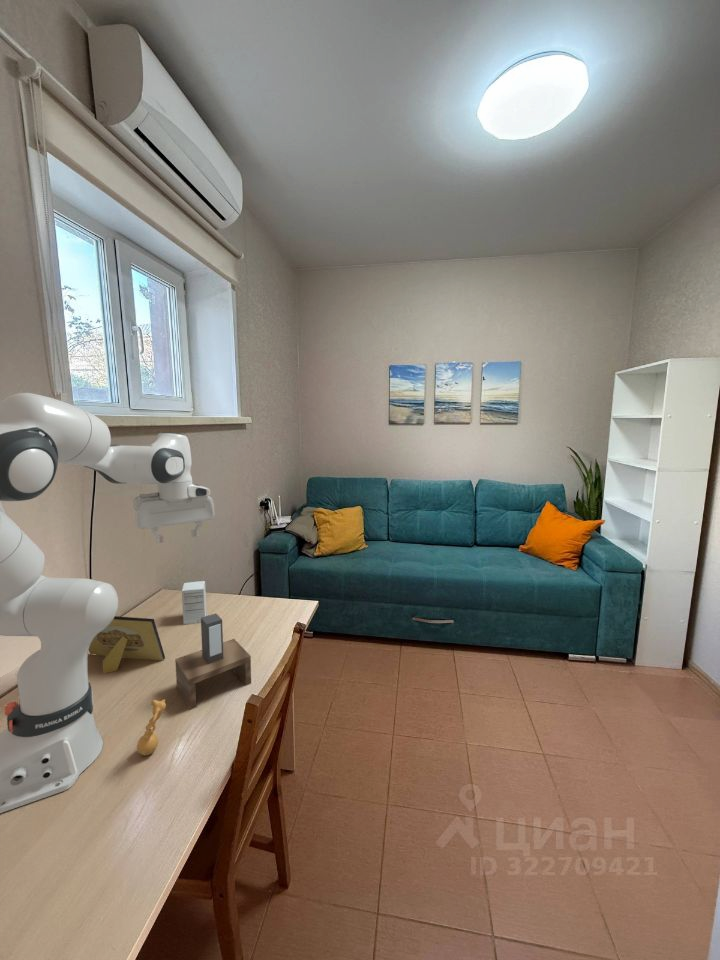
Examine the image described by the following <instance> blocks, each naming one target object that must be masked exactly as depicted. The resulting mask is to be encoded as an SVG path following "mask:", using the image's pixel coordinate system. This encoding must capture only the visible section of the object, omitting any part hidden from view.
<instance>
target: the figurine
mask: <svg viewBox="0 0 720 960" xmlns="http://www.w3.org/2000/svg"><path fill="white" fill-rule="evenodd" d="M150 705H151V706H152V710H151V712H152V717H151V718H150V719H149V720H148V724H147V725H146V726H145V730H146V731H144V732H143V733H144V734H143V735H142V736H141V737H139V739H138V741H137V744H136V749H137V752H138V754H140V755H141V756H149V755H150V754H153V753H154V752H155V750H156V749H157V747H158V743H159V737H158V735H157V734H155V733H154V732H155V730H156V729H157V724H156V723H157V721H158V720H159V718H161V716H162V714H163V713H164V711H165V710H166V707H167V704H166V699H162V700H156V699H153V700H152V701H151V704H150Z"/></svg>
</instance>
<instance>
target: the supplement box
mask: <svg viewBox="0 0 720 960" xmlns="http://www.w3.org/2000/svg"><path fill="white" fill-rule="evenodd" d="M206 595H207V594H206V581H205V580H200V581H198V580H197V581H190V582H184V583H183V586H182V590H181V597H182V598H181V602H182V603H181V605H182V621H183V623H182V624H183V625H190V624H198V623H199V624H201V618H202V617H205V616H207V596H206Z"/></svg>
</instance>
